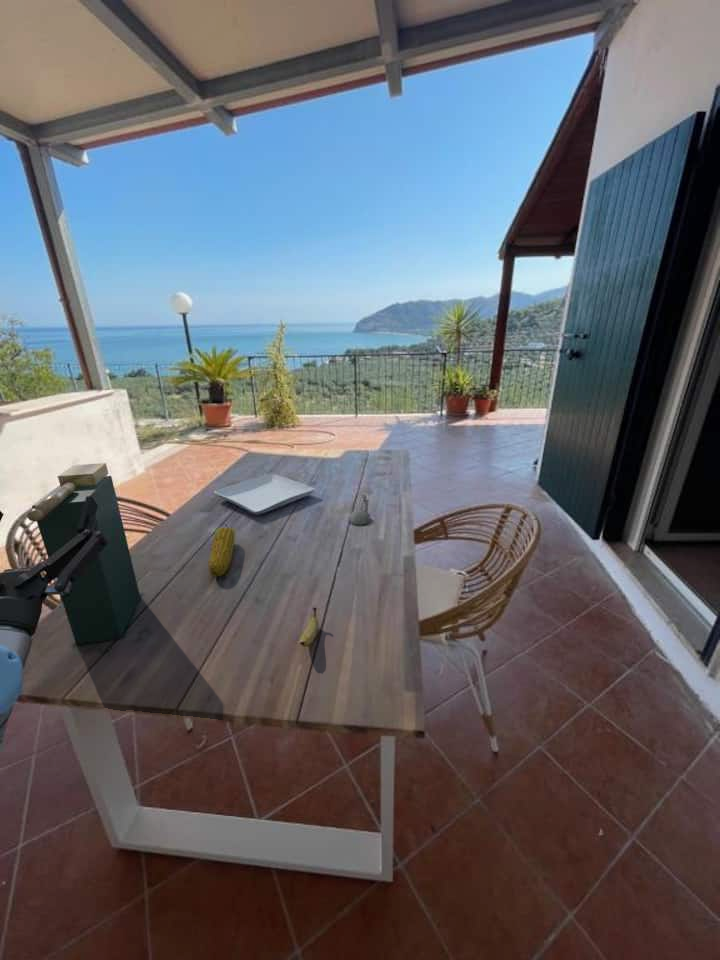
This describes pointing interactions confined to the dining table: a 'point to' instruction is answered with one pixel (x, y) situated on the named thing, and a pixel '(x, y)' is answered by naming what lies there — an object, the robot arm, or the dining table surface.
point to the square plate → (264, 493)
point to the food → (221, 551)
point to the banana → (310, 631)
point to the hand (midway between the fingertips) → (45, 504)
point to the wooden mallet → (69, 487)
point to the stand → (95, 565)
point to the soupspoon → (360, 515)
